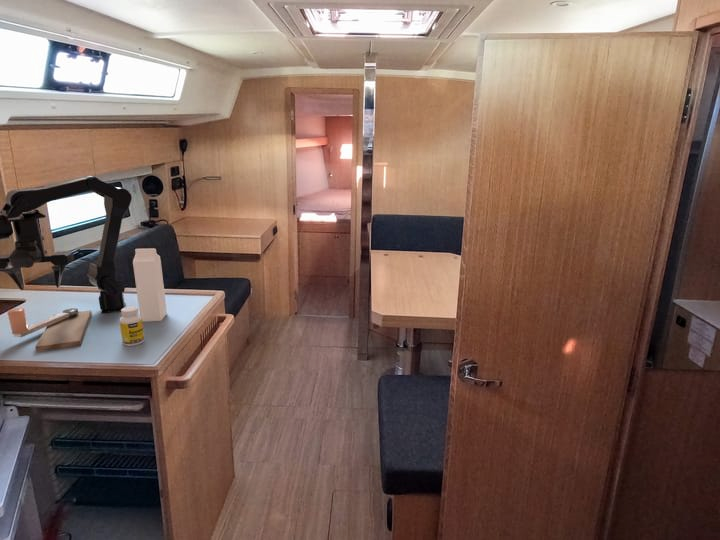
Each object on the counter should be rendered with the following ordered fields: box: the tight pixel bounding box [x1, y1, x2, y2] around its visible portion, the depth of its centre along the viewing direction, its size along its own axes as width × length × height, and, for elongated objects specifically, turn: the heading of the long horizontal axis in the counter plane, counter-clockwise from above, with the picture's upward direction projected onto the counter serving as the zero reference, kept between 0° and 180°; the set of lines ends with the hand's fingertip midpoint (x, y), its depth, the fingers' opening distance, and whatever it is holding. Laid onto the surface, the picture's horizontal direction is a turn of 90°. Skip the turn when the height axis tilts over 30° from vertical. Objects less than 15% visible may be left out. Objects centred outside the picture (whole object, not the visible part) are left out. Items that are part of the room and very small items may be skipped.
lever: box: [7, 307, 79, 338], centre depth 131 cm, size 4×20×7 cm, turn 165°
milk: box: [132, 247, 168, 323], centre depth 139 cm, size 6×6×22 cm
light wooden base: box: [35, 309, 93, 353], centre depth 131 cm, size 10×24×2 cm, turn 23°
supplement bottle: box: [119, 305, 145, 347], centre depth 124 cm, size 5×5×10 cm
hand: (40, 288), depth 132 cm, fingers open, 9 cm apart
